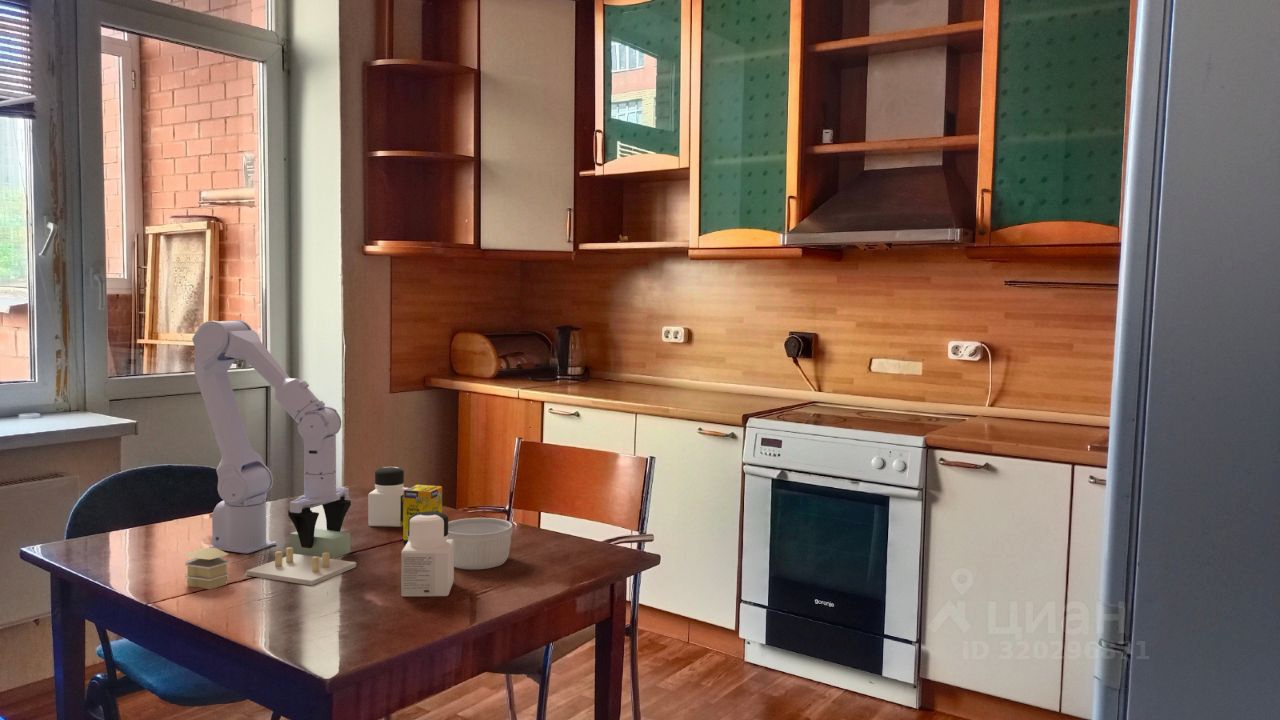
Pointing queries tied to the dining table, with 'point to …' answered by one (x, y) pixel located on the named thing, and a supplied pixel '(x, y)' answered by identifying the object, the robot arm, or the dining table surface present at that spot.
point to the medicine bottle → (387, 498)
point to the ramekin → (480, 542)
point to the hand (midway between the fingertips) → (320, 542)
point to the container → (427, 556)
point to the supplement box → (420, 503)
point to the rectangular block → (323, 543)
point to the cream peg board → (301, 568)
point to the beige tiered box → (206, 568)
